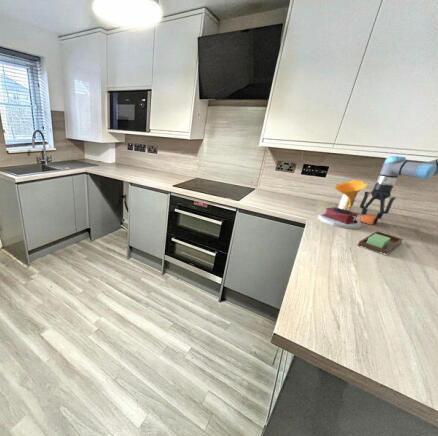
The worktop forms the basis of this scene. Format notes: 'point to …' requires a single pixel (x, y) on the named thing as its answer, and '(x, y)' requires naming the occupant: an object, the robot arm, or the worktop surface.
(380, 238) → the pad
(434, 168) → the robot arm
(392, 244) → the frame
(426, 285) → the worktop surface
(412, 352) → the worktop surface
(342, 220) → the gramophone
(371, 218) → the pad
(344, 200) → the aerosol can
